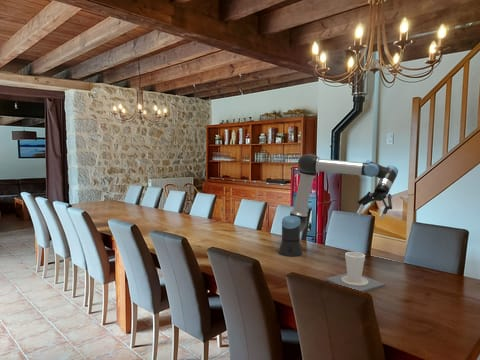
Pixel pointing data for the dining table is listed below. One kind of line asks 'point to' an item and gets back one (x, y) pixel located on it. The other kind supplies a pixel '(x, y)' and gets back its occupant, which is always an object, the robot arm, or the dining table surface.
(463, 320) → the dining table surface
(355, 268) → the foam cup
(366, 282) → the grey square plate
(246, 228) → the dining table surface
